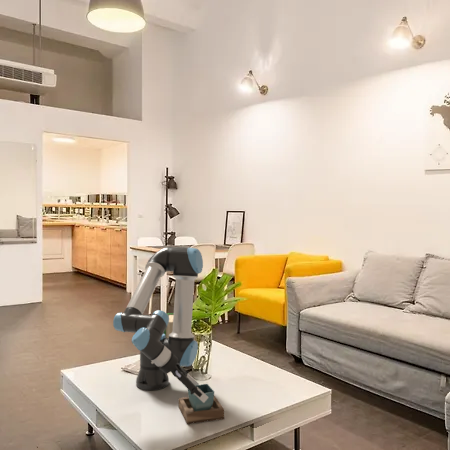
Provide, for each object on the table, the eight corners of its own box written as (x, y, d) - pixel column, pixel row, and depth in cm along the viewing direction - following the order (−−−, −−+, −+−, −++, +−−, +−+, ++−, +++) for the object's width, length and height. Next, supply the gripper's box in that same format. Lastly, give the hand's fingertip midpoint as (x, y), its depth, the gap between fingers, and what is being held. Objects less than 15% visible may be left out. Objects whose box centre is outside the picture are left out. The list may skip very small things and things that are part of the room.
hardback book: (177, 367, 232) (178, 321, 231) (163, 366, 232) (163, 321, 231) (180, 355, 250) (180, 313, 249) (166, 355, 249) (167, 313, 248)
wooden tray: (178, 407, 185) (178, 398, 185) (213, 403, 190) (213, 393, 190) (187, 424, 171) (187, 414, 171) (224, 419, 176) (224, 409, 176)
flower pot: (193, 417, 175) (193, 394, 174) (186, 407, 183) (187, 386, 183) (214, 413, 178) (214, 391, 178) (206, 404, 186) (207, 383, 186)
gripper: (152, 356, 185) (187, 387, 191) (164, 379, 162) (203, 414, 167) (165, 342, 187) (199, 374, 192) (178, 363, 163) (216, 398, 169)
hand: (201, 392), depth 180 cm, fingers open, 13 cm apart
